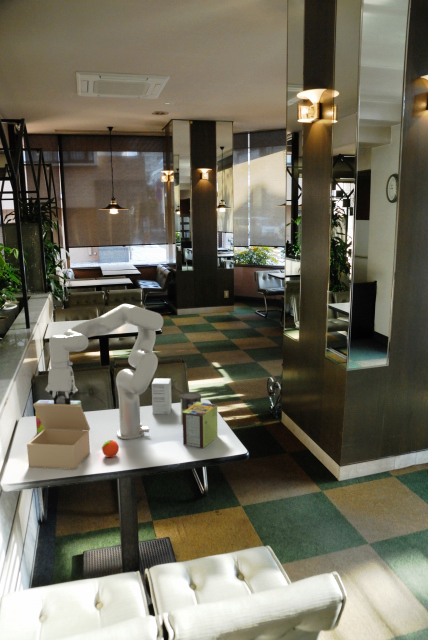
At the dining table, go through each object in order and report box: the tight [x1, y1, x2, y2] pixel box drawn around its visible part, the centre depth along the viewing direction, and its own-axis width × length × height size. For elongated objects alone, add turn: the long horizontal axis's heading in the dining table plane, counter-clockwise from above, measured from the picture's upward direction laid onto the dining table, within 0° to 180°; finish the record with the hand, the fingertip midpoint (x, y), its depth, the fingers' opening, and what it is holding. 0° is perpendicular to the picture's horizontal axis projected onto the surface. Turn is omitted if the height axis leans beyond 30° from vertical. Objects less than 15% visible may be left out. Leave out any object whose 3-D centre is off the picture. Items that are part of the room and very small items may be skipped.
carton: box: [26, 429, 91, 470], centre depth 214 cm, size 20×16×10 cm
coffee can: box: [180, 391, 202, 425], centre depth 254 cm, size 10×10×14 cm
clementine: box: [101, 439, 120, 458], centre depth 217 cm, size 8×7×7 cm
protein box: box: [182, 401, 218, 449], centre depth 232 cm, size 10×15×16 cm
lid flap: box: [32, 395, 91, 432], centre depth 218 cm, size 20×16×6 cm
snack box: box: [34, 399, 82, 434], centre depth 244 cm, size 21×6×15 cm, turn 84°
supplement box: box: [151, 377, 173, 415], centre depth 270 cm, size 10×9×17 cm
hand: (62, 405), depth 217 cm, fingers closed on lid flap, 4 cm apart
